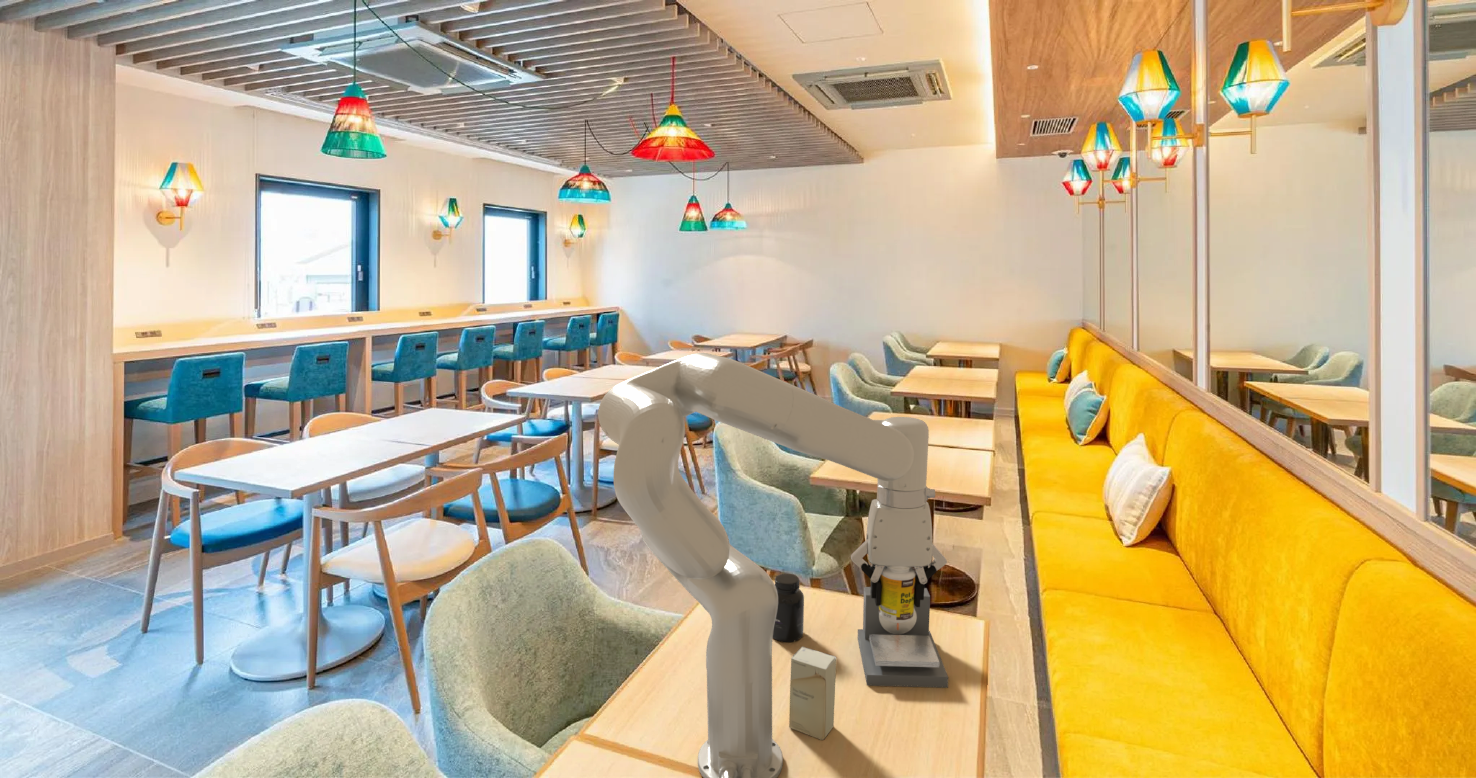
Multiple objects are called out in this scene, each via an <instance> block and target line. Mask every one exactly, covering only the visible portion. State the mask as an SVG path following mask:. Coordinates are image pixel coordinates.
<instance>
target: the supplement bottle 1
mask: <svg viewBox="0 0 1476 778" xmlns="http://www.w3.org/2000/svg"><path fill="white" fill-rule="evenodd" d="M774 585H775V587H776V590H777V594H778V609H777V614H776V619H775V624H774V630H773V639H774V640H775V641H778V642H781V643H793V642H797V641H799V640H800V639H801V638H802V637H803V635H804V623H805V622H804V621H805V619H804V618H805V617H804V615H805V614H804V613H805V612H804V610H805V596H804V593H803V590H801V589H800V578H799V576H797V575H796V574H791V573H781V574H778V575H776V576H775V578H774Z"/></svg>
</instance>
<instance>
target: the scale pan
mask: <svg viewBox="0 0 1476 778" xmlns="http://www.w3.org/2000/svg"><path fill="white" fill-rule="evenodd" d="M870 644H871V648H872V652H873V657H874V661H875V665H876V666H906V667H939V660H938V657H937V654H936V652H935V649H934V647H933V644H932V642H931V639H930V637H929V636H918V635H875V634H870Z"/></svg>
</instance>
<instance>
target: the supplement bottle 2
mask: <svg viewBox="0 0 1476 778" xmlns="http://www.w3.org/2000/svg"><path fill="white" fill-rule="evenodd" d="M915 575H916V571H915V568H914V567H906V566H884V568H883V570H882V573H881V575H880V580H881V584H882V586H881V605H880V606H879V614H880V616H881V617H882V618H883V619H885V620H887V621H889V622H893V623H905V622H908V621H910V620H911V619H912V618H913V613H914V594H915Z"/></svg>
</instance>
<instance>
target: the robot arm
mask: <svg viewBox="0 0 1476 778" xmlns="http://www.w3.org/2000/svg"><path fill="white" fill-rule="evenodd" d="M694 413H698V414H700V415H703V416H705V417H707V418H710V419H712V420H714V421H717V422H719V423H722V424H725V425H727V426H730V427H732V428H734V429H739V430H740V431H743V432H747V433H748V434H751V435H754V436H756V437H760V438H761V439H764V440H767V441H770V442H772V443H775V444H777V445H780V446H783V447H784V448H788V449H791V450H793V451H796V452H799V453H802V454H805V455H810V456H812V457H817V458H820V459H824V460H827V461H829V462H833V463H835V464H838V465H841V466H844V467H846V468H849V469H850V470H853V471H856V472H859V473H861V474H864V475H867V476H869V477H873V478H875V479H877V489H876V499H875V498H874V499H872V500H871V503H870V507H869V511H868V516H867V517H868V518H867V525H866V535H865V541H864V542H862V544H860V546H858V548H856V549H855V550H854V551H853V553H851V554H850V559H851V562H852V563H854V564H855V566H857V567H858V568H859V569H861V571H862V572H863V573H864V574H865V575H866V576H867V577H868V578H869V579H870V587H871V592H870V594H871V598H874V600H875V604H876V606H880V605H881V586H882V584H881V580H880V575H881V573H882V570H883V568H884V566H906V567H912V568H913V569H914V570H915V594H914V605H915V606H916V607H920V600H924V588H925V584H927V583H928V580H929V579H930V578H932V577H933V576H934V575H935V574H936V573H937V571H938V570H941V569H942V568H943V567H944V566H945V565H947V563H948V560H947V559H946V557H945V555H943V554H942V552H941V551H940V550H939V549H938V548H937V547H936V546H935V544H934V543H933V526H932V525H933V524H932V515H931V509H930V505H929V502H927V501H928V500H929V499H931V498H936V489H935V488H931V487H929V488H928V486H927V476H928V475H927V474H928V459H929V458H928V456H929V455H928V454H929V439H930V437H929V435H930V434H929V433H930V430H929V426H928V424H927V423H926V422H925V420H923V419H922V420H921V419H919V418H917V417H909V416H892V417H888V418H886V419H871V418H869V417H867V416H864V415H862V414H860V413H857V412H856V411H852V410H850V409H848V408H845V407H843V406H840V405H838V404H837V403H834V402H832V401H829V400H828V399H826V398H824V397H821V396H819V395H817V394H814V393H813V392H809V391H807V390H805V389H803V388H801V387H798V386H795V385H793V384H791V383H789V382H786V381H784V380H783V379H779V378H777V377H775V376H772V375H770V374H768V373H766V372H763V371H762V370H758V369H756V368H755V367H752V366H749V365H747V364H745V363H743V362H741V361H738V360H735V359H732V358H729V357H725V356H720V355H717V354H712V353H708V352H698V353H692V354H689V355H686V356H683V357H681V358H678V359H676V360H672V361H671V362H668V363H666V364H663V365H661V366H659V367H656V368H654V369H653V368H652V369H651V370H648V371H646V372H644V373H641V374H639V375H635V376H634V377H631V378H629V379H626V380H624V381H622V382H619V383H617V384H615V385H614V386H613V387H612V388H611V389H609V390H608V391H607V392H606V393H605V395H604V396H603V397H602V399H601V400H600V403H599V405H598V412H597V418H598V422H599V425H600V428H601V429H602V430H601V431H602V432H603V433H604V434H605V435H606V436H607V437H608V438H609V439H610V440H611V441H613V442H614V443H616V444H617V445H618V448H617V452H616V455H615V457H614V462H613V463H614V465H613V488H614V493H615V497H616V498H617V501H618V503H619V504H620V506H621V507H622V508H623V509H622V510H624V511H625V512H626V513H627V515H628V516H629V518H631V519H630V520H632V521H633V523H634V524H635V525H636V526H637V528H639V530H640V534H641V537H642V540H643V542H644V544H645V545H646V547H647V548H648V549H649V550H650V552H651V553H652V554H653V555H654V556H655V557H656V558H657V560H659V562H660V563H661V564H662V565H663V566H664V568H666V569H667V571H669V573H670V574H671V575H672V577H674V578H675V579H676V580H677V581H678V582H679V584H680V585H681V586H682V587H683V588H685V590H686V591H687V592H688V594H690V595H691V596H692V597H693V598H694V599H695V601H697V602H698V603H699V604H700V605H701V606H702V608H703V609H704V610H705V611H706V612H707V613H708V614H709V616H710V618H711V630H710V633H709V636H708V640H707V641H706V643H707V644H706V648H705V649H706V651H705V653H706V655H705V662H706V664H705V665H706V694H707V695H706V700H707V703H706V705H707V706H706V708H707V740H706V741H704V743H703V744H702V745H701V747H700V749H699V750H698V754H697V755H698V756H697V767H698V771H699V772H700V775H701V777H703V778H779V775H780V774H781V772H782V768H783V760H784V757H783V751H782V748H781V746H779V744H778V743H777V742H776V740H774V739H773V639H774V638H773V630H774V624H775V619H776V614H777V609H778V594H777V590H776V587H775V582H774V581H773V579H772V578H771V577H770V575H769V574H768V573H767V571H765V569H763V568H762V567H761V566H760V565H758V564H757V563H755V561H754V560H752V559H750V557H748V556H746V555H745V554H744V553H742V552H741V551H739V550H738V549H736V547H734V546H733V545H732V544H731V543H730V539H729V535H728V534H727V531H726V528H725V527H724V525H723V524H722V523H721V521H720V519H719V518H718V517H717V516H716V515H715V514H714V513H713V512H712V511H711V510H710V509H709V508H708V506H706V505H705V503H704V502H703V501H702V500H701V499H700V498H699V497H698V496H697V494H696V493H695V491H693V490H692V488H691V487H690V485H689V484H688V483H687V481H686V480H685V479H684V478H683V476H682V474H681V473H680V470H679V469H680V468H679V458H680V454H681V450H682V447H683V443H684V440H685V436H686V435H685V433H686V425H685V423H686V422H685V419H684V418H686V417H688V416H690V415H692V414H694ZM866 555H867V556H868V561H869V563H870V564H869V563H868V561H867V560H865V559H863V558H864V557H865V556H866ZM933 558H934V559H933Z"/></svg>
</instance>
